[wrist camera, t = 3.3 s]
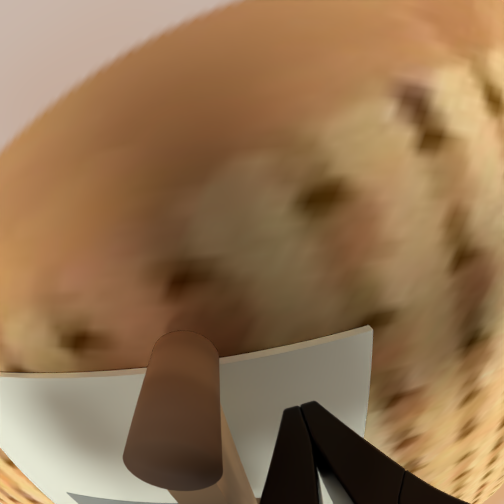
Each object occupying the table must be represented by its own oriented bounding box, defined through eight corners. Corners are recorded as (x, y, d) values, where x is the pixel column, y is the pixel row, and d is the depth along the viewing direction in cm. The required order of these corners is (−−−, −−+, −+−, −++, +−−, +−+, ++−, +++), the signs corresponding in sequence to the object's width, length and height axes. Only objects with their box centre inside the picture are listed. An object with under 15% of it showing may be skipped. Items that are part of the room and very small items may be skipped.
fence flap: (264, 500, 9) (275, 564, 6) (225, 505, 9) (230, 568, 6) (211, 325, 7) (208, 436, 4) (143, 335, 7) (105, 439, 3)
